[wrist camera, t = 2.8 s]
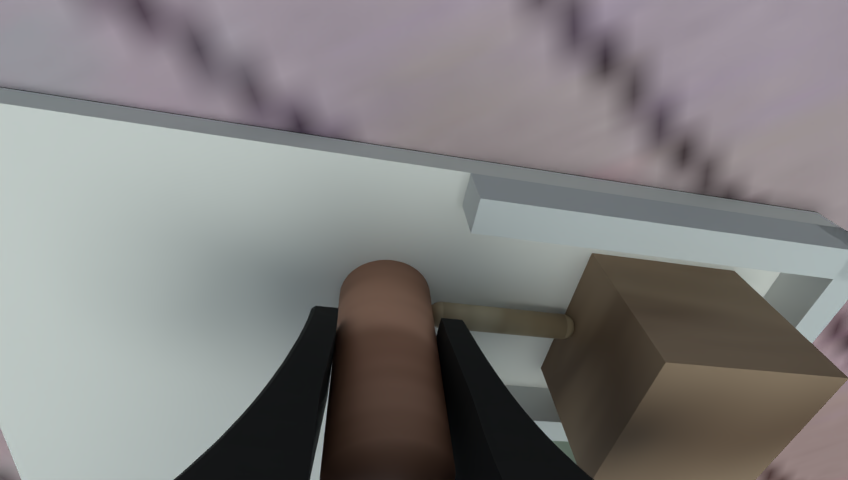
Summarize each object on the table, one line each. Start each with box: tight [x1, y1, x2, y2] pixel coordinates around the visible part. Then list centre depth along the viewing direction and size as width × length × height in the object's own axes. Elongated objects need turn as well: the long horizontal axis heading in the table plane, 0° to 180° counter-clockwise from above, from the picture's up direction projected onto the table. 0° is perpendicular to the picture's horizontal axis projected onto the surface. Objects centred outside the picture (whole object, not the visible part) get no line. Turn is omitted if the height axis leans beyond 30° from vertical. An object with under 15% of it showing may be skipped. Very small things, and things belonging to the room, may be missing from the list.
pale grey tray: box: [0, 87, 848, 480], centre depth 17 cm, size 17×26×2 cm, turn 79°
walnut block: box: [320, 253, 848, 480], centre depth 13 cm, size 5×12×6 cm, turn 79°
